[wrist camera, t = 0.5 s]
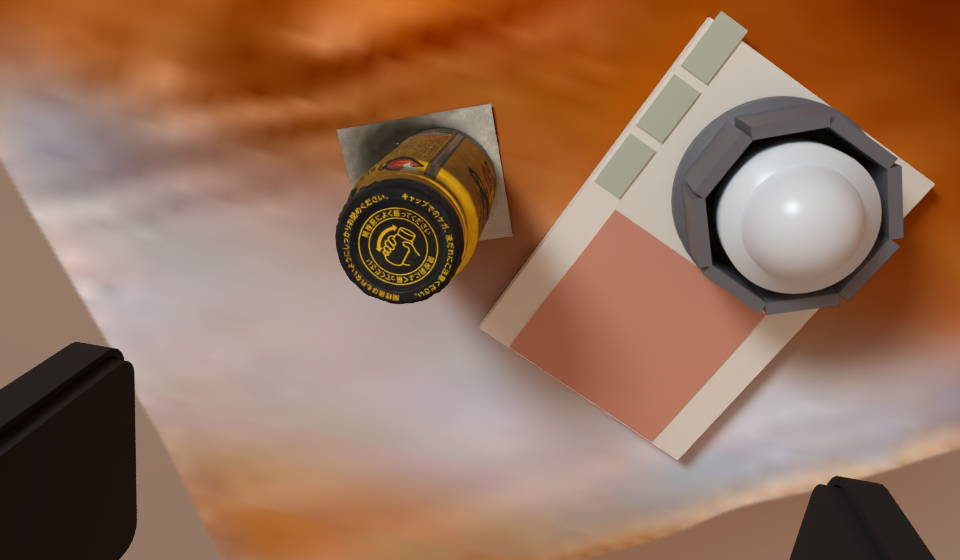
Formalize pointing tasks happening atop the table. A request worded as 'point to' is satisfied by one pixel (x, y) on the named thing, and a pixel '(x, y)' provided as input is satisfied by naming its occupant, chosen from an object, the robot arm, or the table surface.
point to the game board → (682, 248)
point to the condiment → (419, 201)
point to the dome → (796, 215)
